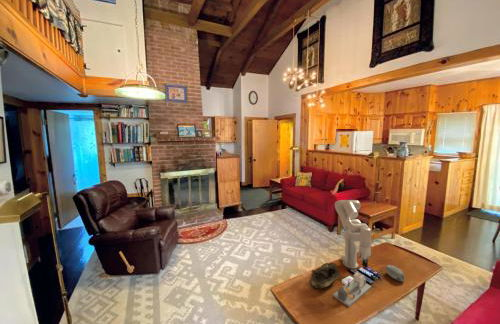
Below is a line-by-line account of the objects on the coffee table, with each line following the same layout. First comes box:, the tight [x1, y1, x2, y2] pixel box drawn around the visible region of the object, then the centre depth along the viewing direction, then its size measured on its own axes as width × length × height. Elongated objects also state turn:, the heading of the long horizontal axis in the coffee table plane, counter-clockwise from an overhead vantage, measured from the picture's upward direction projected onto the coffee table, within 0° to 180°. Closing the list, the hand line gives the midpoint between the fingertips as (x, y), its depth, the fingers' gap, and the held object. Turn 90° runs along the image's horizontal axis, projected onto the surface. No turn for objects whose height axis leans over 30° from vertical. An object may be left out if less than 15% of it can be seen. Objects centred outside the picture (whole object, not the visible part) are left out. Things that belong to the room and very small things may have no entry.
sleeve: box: [353, 272, 365, 288], centre depth 153 cm, size 5×5×8 cm
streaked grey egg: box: [385, 264, 406, 282], centre depth 163 cm, size 14×10×10 cm
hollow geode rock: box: [308, 262, 341, 290], centre depth 160 cm, size 28×13×15 cm
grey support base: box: [332, 277, 372, 308], centre depth 149 cm, size 12×30×8 cm, turn 124°
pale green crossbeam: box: [345, 281, 359, 294], centre depth 149 cm, size 2×26×2 cm, turn 124°
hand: (364, 266), depth 156 cm, fingers closed
